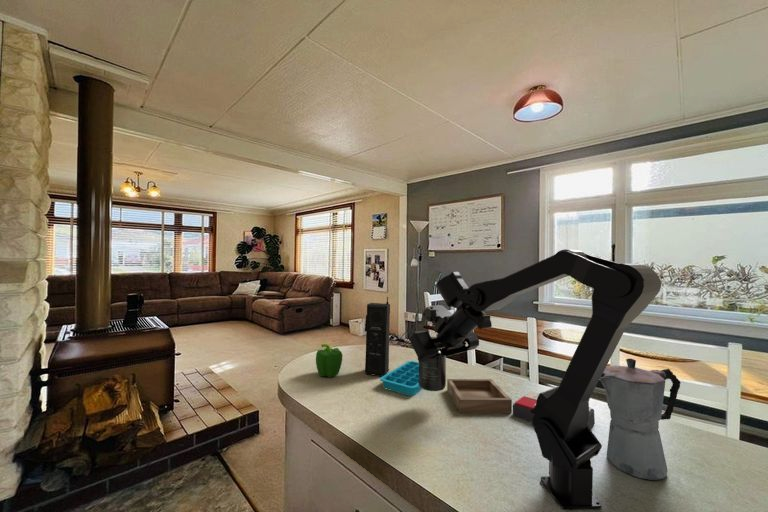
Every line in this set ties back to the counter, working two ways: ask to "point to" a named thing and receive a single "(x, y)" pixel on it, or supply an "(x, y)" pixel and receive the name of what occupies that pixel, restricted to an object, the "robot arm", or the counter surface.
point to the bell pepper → (328, 361)
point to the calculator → (529, 402)
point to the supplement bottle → (433, 372)
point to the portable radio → (377, 338)
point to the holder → (478, 396)
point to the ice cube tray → (403, 379)
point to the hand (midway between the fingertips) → (429, 358)
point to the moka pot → (637, 418)
